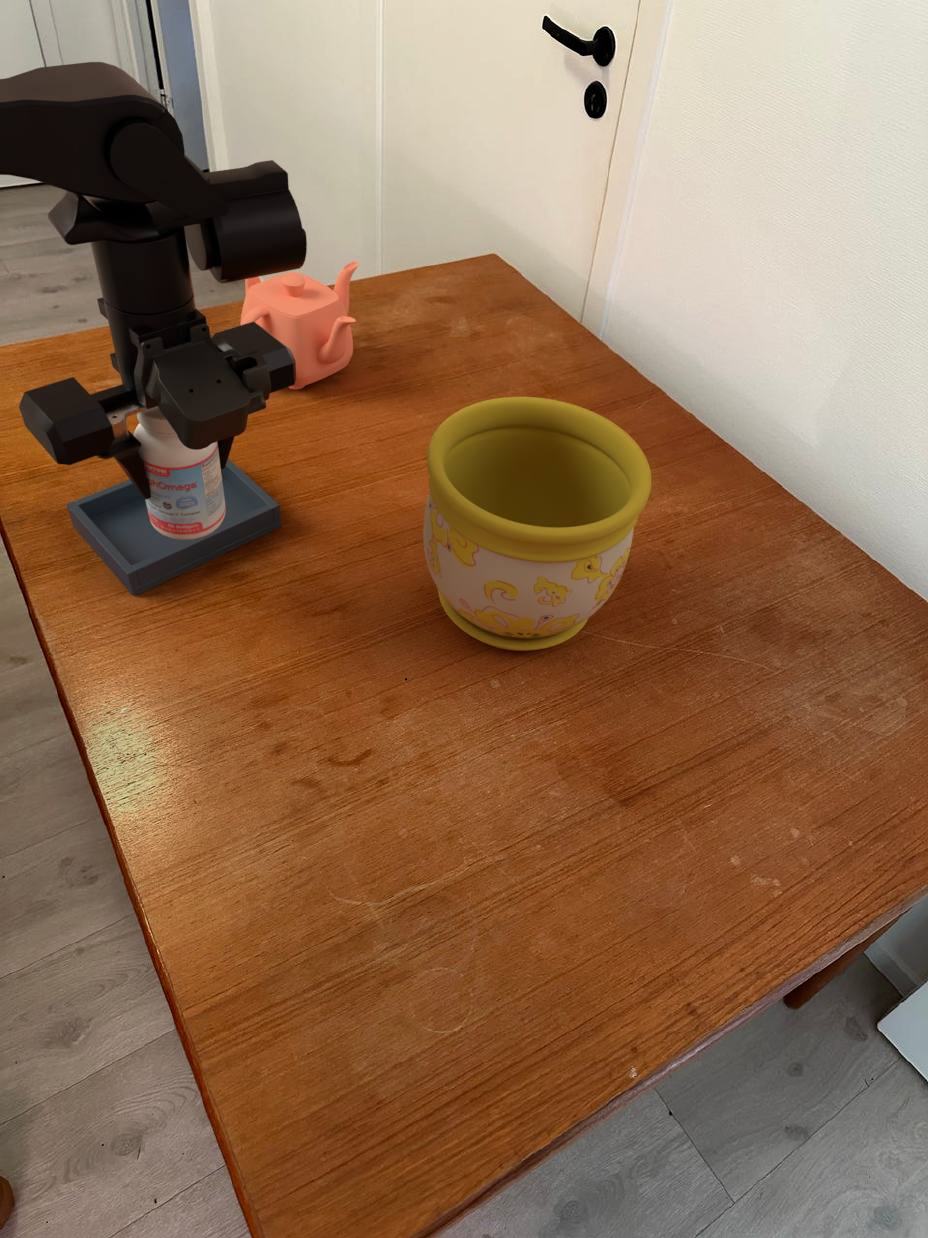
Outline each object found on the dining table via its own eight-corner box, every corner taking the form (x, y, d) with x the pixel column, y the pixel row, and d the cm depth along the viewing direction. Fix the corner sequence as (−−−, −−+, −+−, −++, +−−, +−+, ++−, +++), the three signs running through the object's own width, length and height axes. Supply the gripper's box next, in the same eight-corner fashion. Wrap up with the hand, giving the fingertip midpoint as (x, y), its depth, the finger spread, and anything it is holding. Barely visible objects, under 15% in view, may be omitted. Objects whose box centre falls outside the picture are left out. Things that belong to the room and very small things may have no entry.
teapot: (243, 333, 108) (234, 246, 100) (358, 339, 110) (359, 254, 102) (229, 398, 98) (218, 307, 90) (355, 404, 100) (355, 315, 92)
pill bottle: (136, 532, 70) (107, 414, 61) (173, 486, 74) (150, 370, 65) (206, 550, 69) (187, 434, 61) (239, 503, 73) (225, 388, 65)
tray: (133, 596, 77) (127, 574, 75) (73, 526, 82) (65, 504, 80) (281, 527, 85) (279, 505, 83) (217, 467, 90) (214, 445, 88)
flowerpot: (418, 531, 86) (427, 388, 74) (596, 540, 88) (633, 401, 76) (415, 672, 74) (426, 528, 62) (622, 680, 75) (672, 541, 63)
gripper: (64, 395, 49) (119, 590, 60) (337, 308, 58) (340, 491, 69) (-16, 310, 54) (49, 504, 65) (247, 243, 63) (263, 423, 74)
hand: (183, 481), depth 68 cm, fingers closed on pill bottle, 6 cm apart
